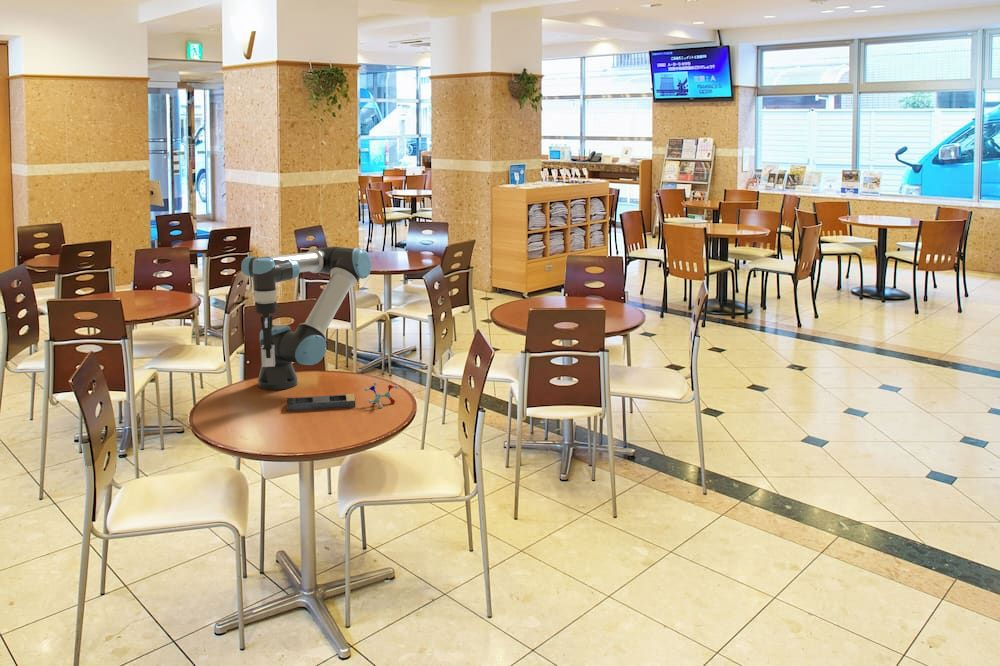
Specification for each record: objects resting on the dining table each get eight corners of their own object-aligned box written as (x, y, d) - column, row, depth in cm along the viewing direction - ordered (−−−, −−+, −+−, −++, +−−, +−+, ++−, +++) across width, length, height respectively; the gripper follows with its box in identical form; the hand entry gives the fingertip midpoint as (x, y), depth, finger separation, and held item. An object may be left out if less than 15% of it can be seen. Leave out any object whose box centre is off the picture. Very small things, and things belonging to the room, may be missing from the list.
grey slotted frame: (287, 404, 321) (287, 397, 320) (354, 400, 326) (353, 393, 325) (287, 411, 313) (287, 404, 313) (355, 407, 318) (355, 400, 318)
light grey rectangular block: (262, 363, 321) (261, 345, 320) (275, 363, 322) (274, 344, 321) (262, 367, 317) (261, 348, 315) (275, 366, 318) (274, 347, 316)
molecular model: (390, 401, 313) (380, 376, 315) (368, 412, 316) (358, 387, 318) (404, 401, 324) (394, 376, 326) (383, 412, 327) (374, 387, 329)
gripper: (256, 296, 322) (259, 358, 327) (253, 306, 305) (257, 371, 311) (277, 296, 323) (280, 357, 329) (275, 306, 306) (279, 370, 312)
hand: (269, 363), depth 320 cm, fingers closed on light grey rectangular block, 4 cm apart
